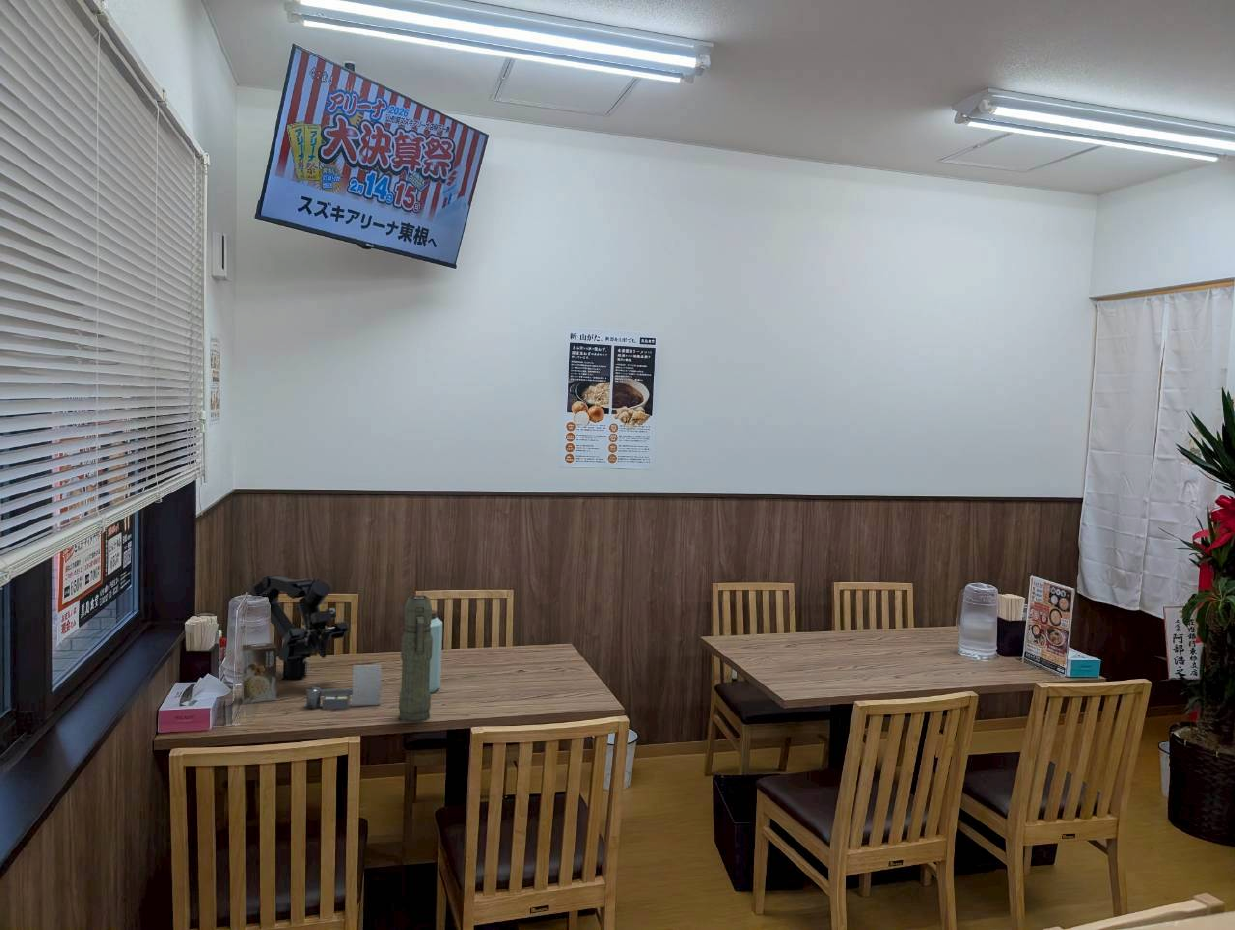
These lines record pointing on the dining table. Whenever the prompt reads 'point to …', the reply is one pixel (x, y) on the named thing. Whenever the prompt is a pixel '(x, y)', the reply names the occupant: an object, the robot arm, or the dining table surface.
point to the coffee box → (259, 672)
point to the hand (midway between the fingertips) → (324, 657)
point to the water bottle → (435, 652)
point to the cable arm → (362, 691)
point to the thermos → (416, 660)
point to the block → (336, 702)
